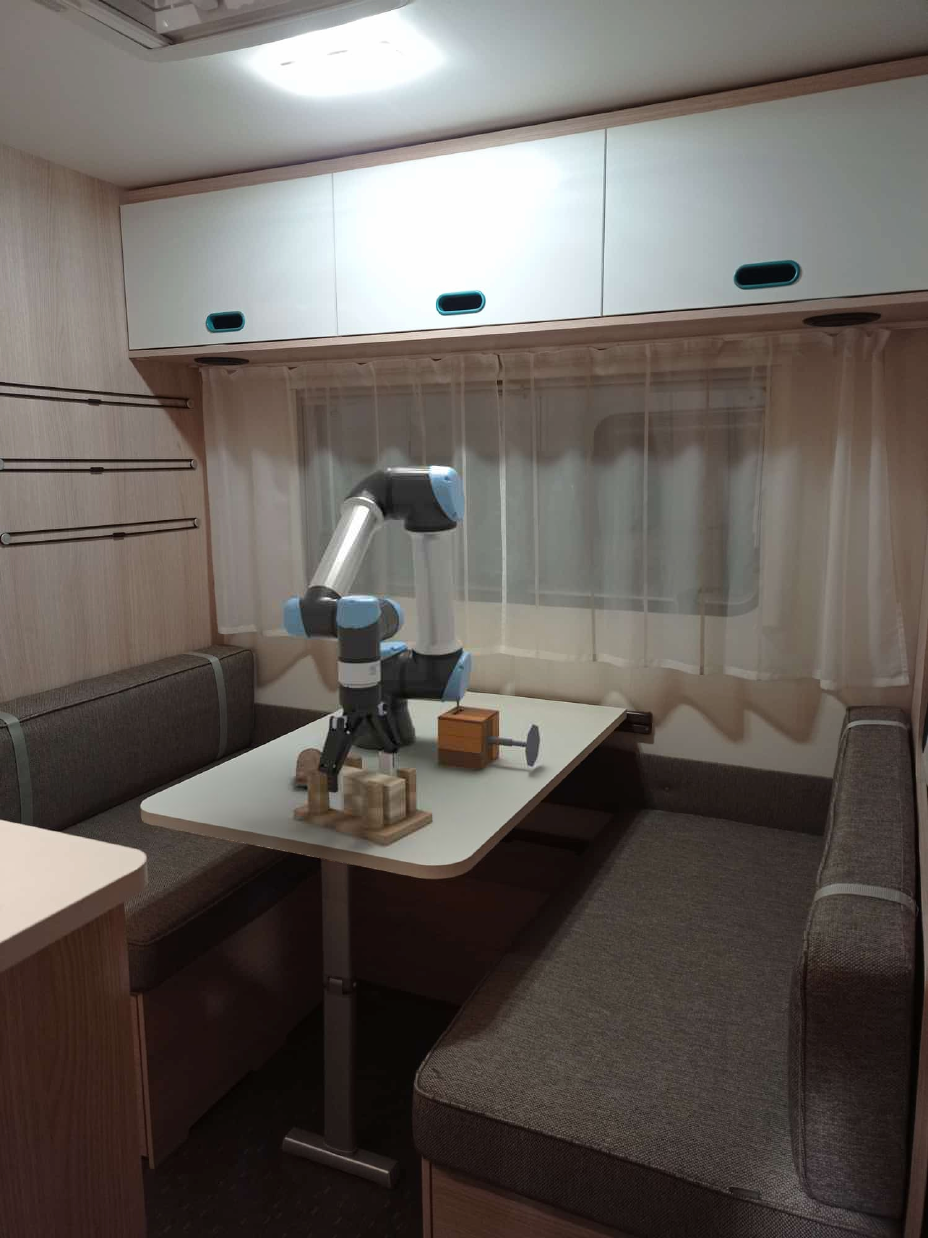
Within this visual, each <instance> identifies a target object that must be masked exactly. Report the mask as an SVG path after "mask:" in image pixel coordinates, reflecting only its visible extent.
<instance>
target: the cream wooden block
mask: <svg viewBox="0 0 928 1238" xmlns="http://www.w3.org/2000/svg"><path fill="white" fill-rule="evenodd" d="M334 767H335V765H334ZM339 773H343V789H344V809H343V810H337V809H334V808H330V802H329V791H328V808H329V809H333V810H337V811H340V812H344V813H348V814H352V815H355V816H359V817H362V783H364V782H366V781H369V780H370V781H375V782H379V783H383V823H385V824H389V825H391V824H393V823H395V822H397V821H398V820H400V819H402V818H404V817H406V795H405V779H402V778H397V777H396V776H394V775H393V776H389V775H384V774H380V773H379V772H374V771H370V770H367V769H363V768H362V769H358V768H354V767H349V766H345V765H343V766H342V768H341V770H340V772H339Z"/></svg>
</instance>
